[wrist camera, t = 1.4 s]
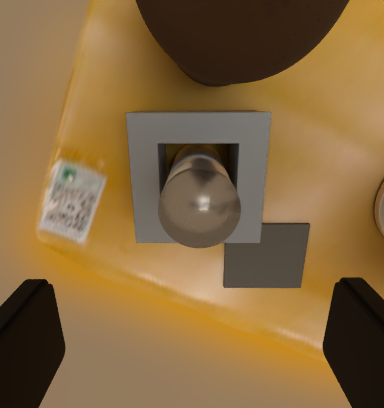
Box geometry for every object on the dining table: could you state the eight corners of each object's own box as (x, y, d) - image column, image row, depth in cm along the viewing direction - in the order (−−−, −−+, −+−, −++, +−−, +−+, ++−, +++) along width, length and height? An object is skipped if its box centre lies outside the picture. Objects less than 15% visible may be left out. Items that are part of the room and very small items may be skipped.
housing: (254, 110, 30) (271, 112, 23) (247, 215, 34) (260, 242, 27) (141, 110, 30) (125, 112, 23) (147, 215, 34) (136, 242, 27)
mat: (308, 223, 34) (310, 224, 34) (299, 285, 37) (300, 287, 37) (226, 223, 34) (226, 224, 34) (223, 285, 37) (223, 287, 37)
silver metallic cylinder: (222, 141, 31) (243, 170, 18) (221, 189, 33) (238, 248, 19) (172, 141, 31) (155, 170, 18) (173, 189, 33) (159, 248, 19)
